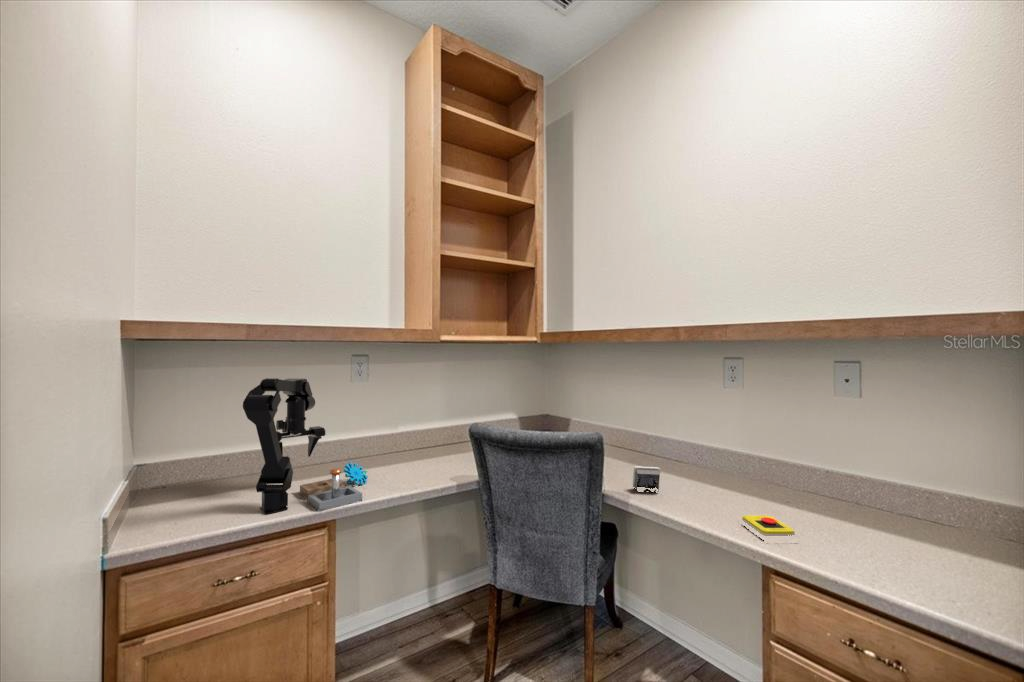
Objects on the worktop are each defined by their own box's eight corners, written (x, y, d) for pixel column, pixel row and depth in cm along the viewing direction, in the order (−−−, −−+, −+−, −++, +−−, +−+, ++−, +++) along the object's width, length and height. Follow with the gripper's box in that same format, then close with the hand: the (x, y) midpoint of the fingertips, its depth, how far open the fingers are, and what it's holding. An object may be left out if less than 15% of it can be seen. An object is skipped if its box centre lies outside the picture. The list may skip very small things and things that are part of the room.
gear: (353, 485, 158) (341, 462, 162) (343, 495, 160) (331, 472, 164) (375, 481, 168) (363, 459, 172) (365, 490, 170) (354, 469, 174)
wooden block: (307, 499, 148) (308, 490, 148) (299, 493, 153) (299, 485, 154) (343, 491, 156) (343, 483, 156) (334, 486, 162) (334, 478, 162)
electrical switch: (658, 490, 161) (659, 465, 161) (661, 496, 156) (662, 470, 156) (632, 488, 163) (632, 464, 162) (634, 495, 158) (634, 469, 157)
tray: (319, 511, 138) (319, 503, 138) (308, 502, 145) (308, 495, 145) (362, 500, 147) (362, 493, 147) (349, 493, 155) (349, 486, 155)
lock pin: (332, 502, 144) (332, 471, 144) (328, 499, 146) (328, 469, 146) (342, 500, 146) (342, 469, 146) (338, 497, 148) (338, 467, 149)
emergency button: (766, 529, 118) (736, 508, 133) (766, 545, 118) (736, 523, 133) (800, 529, 118) (766, 508, 133) (800, 545, 118) (766, 523, 133)
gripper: (314, 409, 167) (314, 450, 167) (259, 414, 154) (259, 458, 154) (326, 412, 159) (325, 456, 159) (269, 418, 146) (268, 465, 146)
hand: (295, 458), depth 154 cm, fingers open, 9 cm apart
